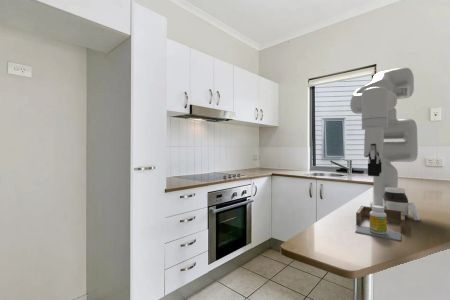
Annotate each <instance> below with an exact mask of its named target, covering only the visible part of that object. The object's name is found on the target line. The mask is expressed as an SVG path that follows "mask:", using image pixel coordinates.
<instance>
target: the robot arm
mask: <svg viewBox="0 0 450 300" xmlns="http://www.w3.org/2000/svg"><path fill="white" fill-rule="evenodd" d="M414 79H415V78H414V73H413V71H412V70H411V69H410V68H409V67H405V66H404V67H399V68H393V69H389V70H384V71H383V70H382V71H380V72H378V73H375V74H374V75H373V77H372V78H371V81H370V83H367V84H365V85H364V86H361V87H360V88H357V89H356V90H355V91H354V92H353V94H352V96H351V99H350V105H349V106H350V110H351V112H352V113H354V114H357V115H361V130H364V137H363V138H364V142H363V143H364V147H363V149H364V150H363V157H364V158H368V160H367V162H368V163H367V176H370V177H373V201H371V202H370V203H369V207H372V206H373V205H377V206H382V207H383V194H384V193H385V187H395V188H399V183H398V182H399V179H398V178H399V174H398V172H399V171H398V169H397V168H396V167H395V166H394V165H393V164H392V163H412V162H415V161H416V160H417V159H418V156H419V155H418V153H419V152H418V150H419V148H418V146H419V145H418V127H417V123H416V121H415V120H414V119H413V118H401V119H400V118H398V119H397V109H396V106H397V104H398V100H402V99H403V100H404V99H408V98H409V99H410V97H412V96H413V94H414V92H415V91H414V90H415V89H414V87H415V86H414V85H415V82H414V81H415V80H414ZM384 140H403V141H384Z"/></svg>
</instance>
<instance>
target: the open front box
mask: <svg viewBox="0 0 450 300" xmlns="http://www.w3.org/2000/svg"><path fill="white" fill-rule="evenodd" d="M371 211H372V206H365V205H360V207H359V209H357V211H356V212H355V225H356V226H359V225H360V226H361V223H362V221H363V220H364V219H369V220H370V212H371ZM383 212H384V213H386V215H387V222H390V223H395V224H400V233H401V234H406V218H405V213H404V211H397V210H389V209H384V211H383Z"/></svg>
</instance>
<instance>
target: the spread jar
mask: <svg viewBox="0 0 450 300" xmlns="http://www.w3.org/2000/svg"><path fill="white" fill-rule="evenodd" d="M383 207H384V209H389V210H397V211H404V213H405V219H406V218H407V217H408V216H409V212H410V214H411V216H412V218H413V220H414V221H415V222H416V221H420V215H419V211H418V209H417V207H416V205H415V203H414V202H409V199H408V196H407V195H406V188H402V187H398V188H395V187H385V193H384V194H383Z"/></svg>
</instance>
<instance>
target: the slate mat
mask: <svg viewBox="0 0 450 300" xmlns="http://www.w3.org/2000/svg"><path fill="white" fill-rule="evenodd" d="M355 233H356V234H360V235H361V234H363V235H366V236H371V237H377V238H382V239H386V240H392V241H396V242H402V233H401V232H398V231H393V230H387V233H386V234H377V233H374V232H371V231H370V226H365V225H361V224H360V225H357V228H356V229H355Z"/></svg>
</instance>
